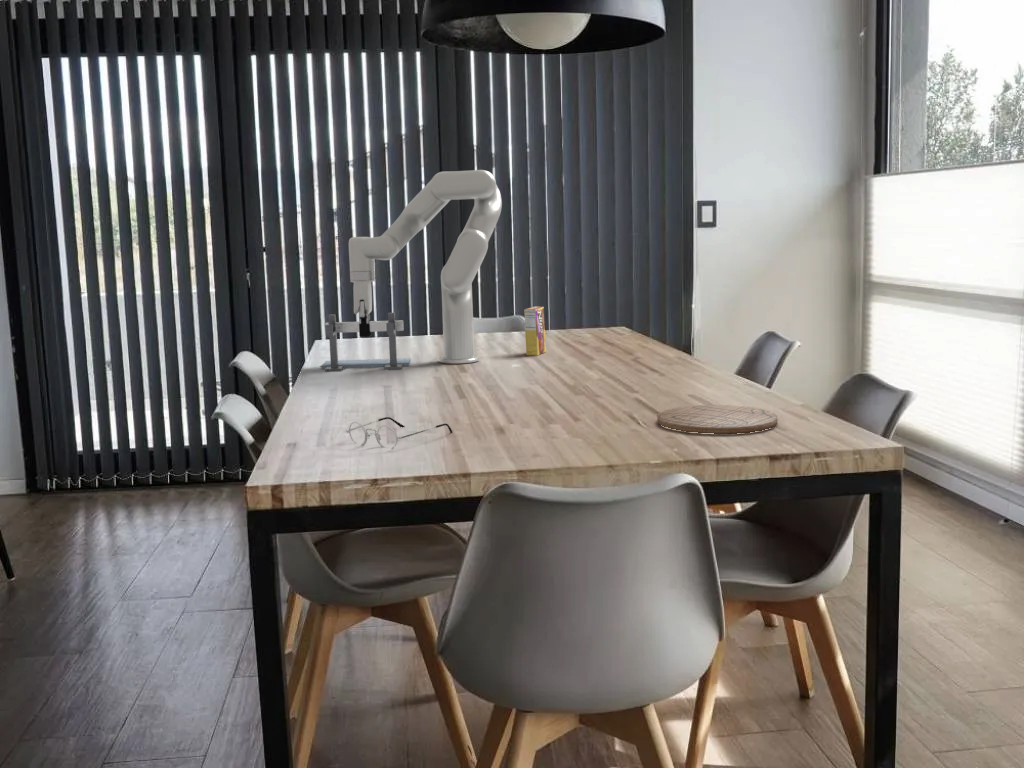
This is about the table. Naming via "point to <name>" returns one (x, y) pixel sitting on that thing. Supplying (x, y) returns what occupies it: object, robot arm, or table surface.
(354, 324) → the steel rail
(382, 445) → the eyeglasses
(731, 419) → the trivet
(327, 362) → the rubber mat
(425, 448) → the table surface
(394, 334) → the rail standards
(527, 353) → the candy box
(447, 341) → the robot arm
